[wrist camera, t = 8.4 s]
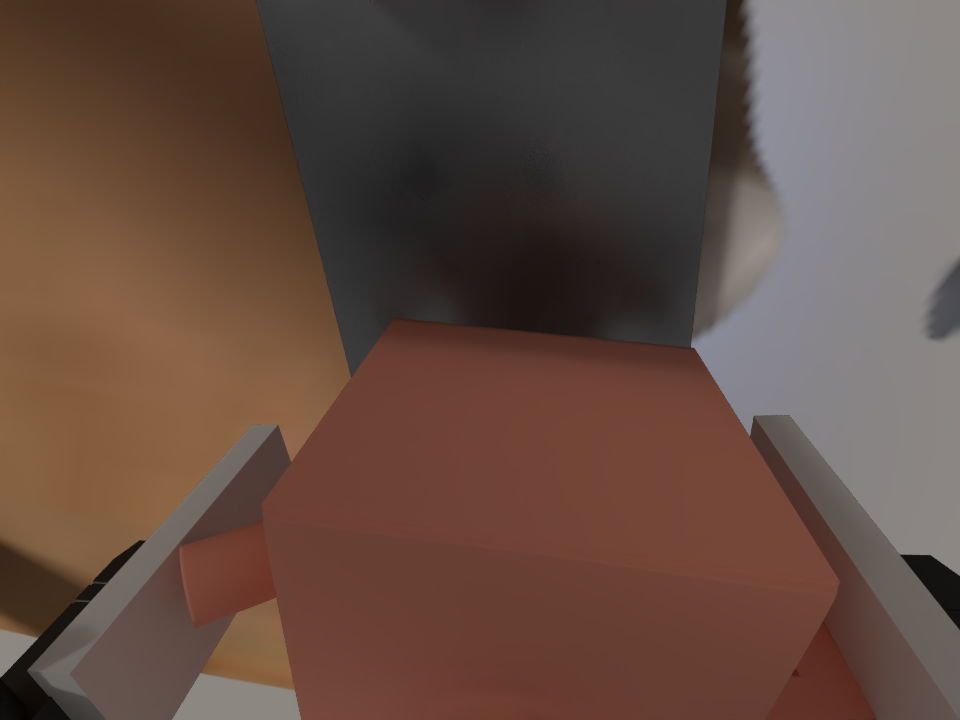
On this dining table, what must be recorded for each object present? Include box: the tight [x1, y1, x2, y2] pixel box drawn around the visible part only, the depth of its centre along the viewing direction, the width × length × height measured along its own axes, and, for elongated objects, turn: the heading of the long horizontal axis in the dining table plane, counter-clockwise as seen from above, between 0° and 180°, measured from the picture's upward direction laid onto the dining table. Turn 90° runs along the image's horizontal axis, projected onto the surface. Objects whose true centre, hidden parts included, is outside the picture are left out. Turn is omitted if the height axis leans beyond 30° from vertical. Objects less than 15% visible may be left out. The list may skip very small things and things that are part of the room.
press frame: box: [256, 0, 727, 378], centre depth 14 cm, size 24×12×6 cm, turn 6°
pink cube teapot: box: [179, 318, 877, 720], centre depth 10 cm, size 8×12×8 cm, turn 87°
